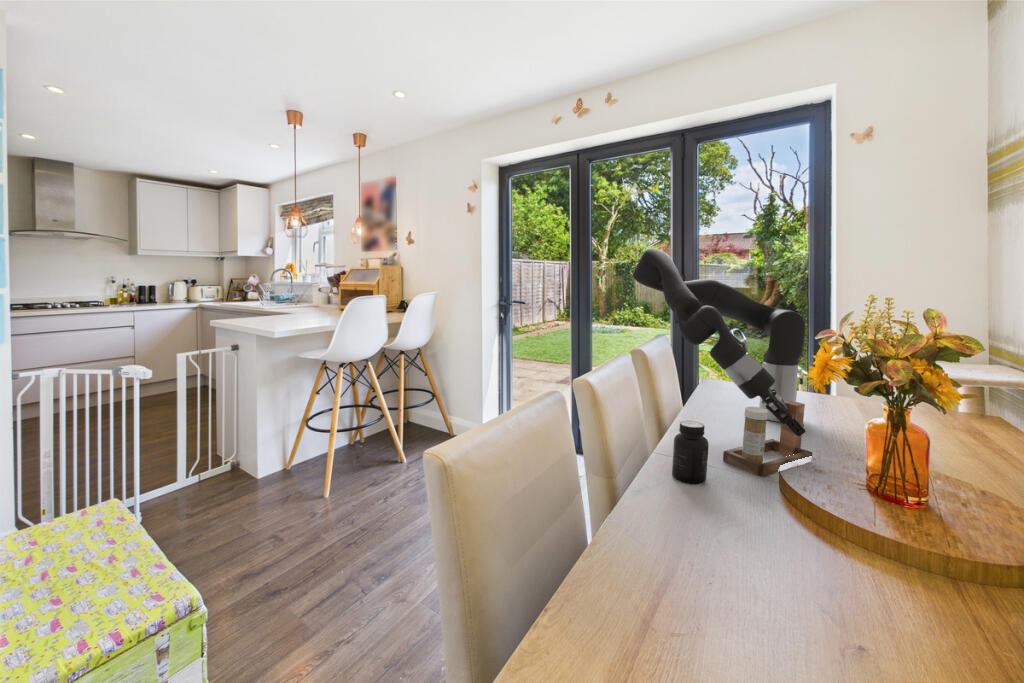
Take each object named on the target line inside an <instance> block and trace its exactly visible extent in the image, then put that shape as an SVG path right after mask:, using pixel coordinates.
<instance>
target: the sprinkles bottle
mask: <svg viewBox="0 0 1024 683" xmlns="http://www.w3.org/2000/svg"><path fill="white" fill-rule="evenodd" d="M767 418H768V411H767V410H766V409H764V408H760V407H759V406H746V407H745V408H744V425H743V426H744V427H743V435H742V436H743V437H742V446H741V447H742V456H743V457H746V458H749V459H751V460H754V461H756V462H759V463H764V455H765V453H764V447H765V441H766V435H767V434H766V433H767V432H766V430H767V429H766V428H767V421H768V420H767Z"/></svg>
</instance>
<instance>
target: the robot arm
mask: <svg viewBox="0 0 1024 683" xmlns="http://www.w3.org/2000/svg"><path fill="white" fill-rule="evenodd" d="M632 273H633V274H632V277H633V279H634V280H635V281H636V282H637V283H639V284H641V285H643V286H645V287H647V288H649V289H653V290H655V291H659V292H662V293H663V296H664V301H665V303H666V304H667V306H668V307H669V309H670V310H671V311H672V313H673V314H674V315H675V317H676V320H677V325H678V328H679V331H680V335H681V336H682V338H683V339H684V340H685V341H686V343H688V344H690V345H693V346H699V345H701V344H703V343H704V342H705V341H707V340H708V339H710V337H712V336H713V335H714V334H715V333H717V334H718V335H719V338H718V340H717V342H716V343H715V344H714V346H712V348H711V349H710V350H709V355H710V357H711V358H712V359H713V361H715V362H716V364H717V365H718V366H719V367H720V368H721V369H722V370H723V372H725V375H727V377H728V378H729V379H730V380H731V381H732V382H733V383H734V385H736V386H737V388H738V389H739V390H740V391H741V392H742V393H743V394H744V395H745V396H746V397H747V399H750V400H751V399H755V398H756V397H759V405H758V407H760V408H764V409H766V410H767V411H768V418H767V421H772V422H776V423H777V422H779V423H780V424H781V423H783V424H786V425H787V426H788V427H789V428H790V429H791V430H792V431H793V432H794V433H795V434H796V435H797V436H801V435H802V436H803V435H804V434H805V433H806V432H807V431H806V429H805V428H804V426H805V424H804V423H803V427H802V426H801V425H800V424H799V423H798V421H797V420H796V419H795V418H794V416H793V415H791V413H790V412H789V411H788V409H789V408H788V407H787V406H786V404H785V403H784V402H787V401H795V402H797V395H798V388H797V384H798V373H799V371H798V370H799V361H800V359H801V356H802V355H803V351H804V344H805V337H806V336H805V335H806V322H805V319H804V317H803V316H802V315H801V314H800V313H798V312H796V311H794V310H789V309H783V308H778V307H773V306H770V305H766V304H764V303H761V302H758V301H756V300H754V299H752V298H751V297H749V296H748V295H747V294H744V293H743V292H742V291H740V290H739V289H736V288H735V287H733V286H731V285H728V284H726V283H723V282H721V281H719V280H716V279H713V278H702V279H693V280H688V281H687V280H686V281H684V280H683V278H682V276H681V274H680V272H679V270H678V268H677V266H676V265H675V263H674V261H673V259H672V258H671V256H670V255H669V254H668V253H667V252H665V251H663V250H661V249H659V248H654V247H649V248H646V249H645V250H644V252H643V253H642V255H641V257H640V258H639V260H638V262H637V265H636V266H635V269H634V270H633V272H632ZM723 317H724V318H727V319H731V320H733V321H734V320H735V321H738V322H742V323H744V324H747V325H748V326H750V327H752V328H753V329H755V330H758V331H759V332H762V333H763V334H764V335H767V336H769V340H768V347H767V350H765V352H764V353H763V355H762V356H763V358H762V364H761V363H760V362H759V361H758V360H757V359H756V358H755V357H754V356H753V355H751V354H750V353H749V352H748V351H747V350H746V349H745V348H744V347H743V346H742V345H741V344H740V343H739V342H738V341H737V340H736V338H735V337H734V335H732V332H730V330H729V327H728V326H727V324H726V322H725V321H724V320H725V319H724V318H723ZM783 413H785V414H786V415H787V416H785V417H784V418H783V417H782V414H783Z"/></svg>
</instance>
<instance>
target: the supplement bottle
mask: <svg viewBox="0 0 1024 683" xmlns="http://www.w3.org/2000/svg"><path fill="white" fill-rule="evenodd" d="M705 428H706V427H705V425H704V423H702V422H699V421H694V420H683V421H680V423H679V429H678V430H679V431H678V432H679V433H677V434H676V435H675V436H674V437H673V446H672V447H673V448H672V449H673V450H672V451H673V452H672V465H671V467H672V468H671V476H672V478H674V479H675V480H676V481H678V482H679V483H683V484H687V485H694V486H695V485H696V486H697V485H702V484H703V483H705V482H706V481H707V473H708V461H709V460H708V459H709V446H710V445H709V440H708V438H707V437H705V436H704V435H705Z"/></svg>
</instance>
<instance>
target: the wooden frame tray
mask: <svg viewBox="0 0 1024 683" xmlns="http://www.w3.org/2000/svg"><path fill="white" fill-rule="evenodd" d="M784 403H785V404H786V406H787V407H788V408H789V409H788V411H789V412H790V413H791V415H793V416H794V418H795V419H796V420H797V421H798V423H799V424H800V425H801V426H802V427H803V428H804V426H803V424H804V416H805V407H806V406H805V405H806V403H804V402H803V403H802V402H798V401H796V402H795V401H787V402H784ZM785 416H787V415H786V414H785V413H783V414H782V417H783V418H784V417H785ZM780 424H781V425H780V436H779V440H776V439H773V438H771V439H765V447H764V454H765V453H768V452H772V451H773V452H776V453H778V455H780V456H783V457H780V458H777V459H773V460H769V461H767V462H763V463H759V462H756V461H754V460H751V459H749V458H746V457H743V456H742V446H738V447H735V448H730V449H726V450H723V454H722V456H723V457H722V461H723V462H725V463H727V464H730V465H732V466H735V467H737V468H739V469H740V470H741V469H742V470H744V471H746V472H749V473H752V474H754V475H756V476H759V477H762V478H764V477H768V476H771V475H774V474H778V473H779V472H778V469H779V467H780V465H783V464H785V463H788V462H792V461H795V460H798V459H802V458H805V457H809V456H812V457H813V451H810V450H807V449H804V448H802V440H803V438H802V437H803V434H802V435H801V436H797V435H796V434H795V433H794V432H793V431H792V430H791V429H790V428H789V427H788V426H787V425H786V424H783V423H781V422H780ZM793 454H794V455H793ZM789 455H790V456H789ZM785 456H787V457H785Z"/></svg>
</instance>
